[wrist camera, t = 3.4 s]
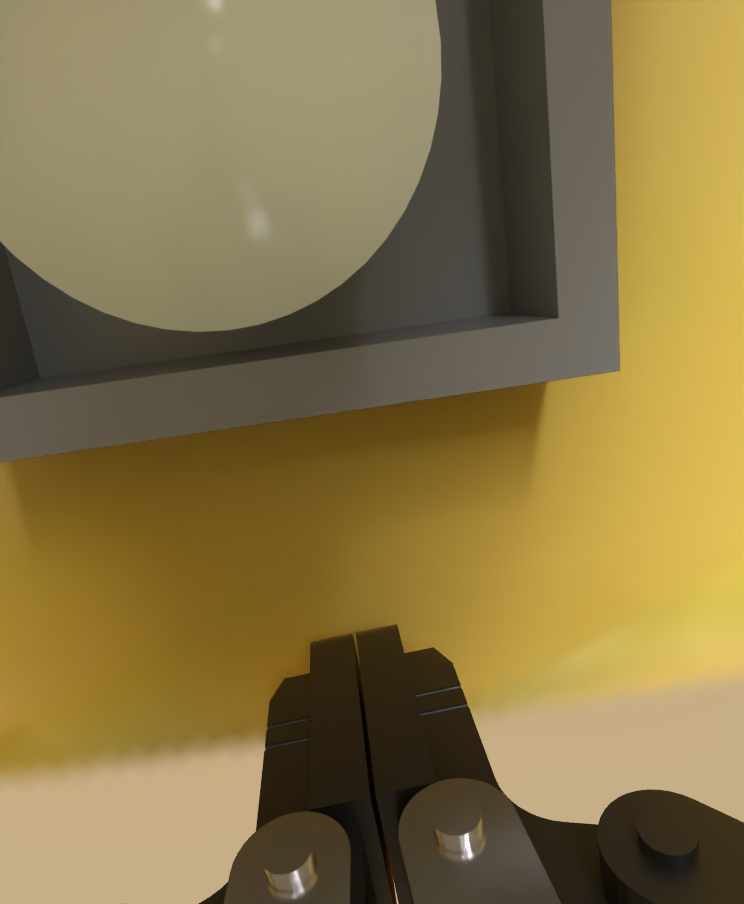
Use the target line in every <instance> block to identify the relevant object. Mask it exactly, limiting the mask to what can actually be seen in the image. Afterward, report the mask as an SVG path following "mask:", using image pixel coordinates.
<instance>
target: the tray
mask: <svg viewBox="0 0 744 904" xmlns="http://www.w3.org/2000/svg"><path fill="white" fill-rule="evenodd" d="M435 2H436V9H437V17H438V24H439V32H440V39H441V88H440V98H439V108H438V116H437V121H436V126H435V130H434V135H433V139H432V144H431V149H430V152H429V155H428V158H427V160H426V163H425V166H424V169H423V172H422V175H421V178H420V181H419V183H418V185H417V187H416V189H415V191H414V193H413V195H412V197H411V199H410V201H409V203H408V205H407V207H406V209H405V211H404V213H403V215H402V216H401V218H400V219H399V221H398V222H397V224H396V225H395V227H394V228H393V230H392V231H391V233H390V234H389V236H388V237H387V239H386V240H385V241H384V242H383V243H382V245H381V246H380V247H379V248H378V249H377V250H376V252H375V253H374V254H373V255H372V256H371V257H370V259H369V260H368V261H367V262H366V263H365V264H364V265H363V266H362V267H361V268H359V269H358V270H357V271H356V272H355V273H354V274H353V275H352V276H350V277H349V278H348V279H347V280H346V281H345V282H344V283H343V284H341V285H340V286H338V287H337V288H335V289H334V290H332V291H331V292H329V293H328V294H326V295H325V296H323V297H322V298H320V299H319V300H317V301H316V302H314V303H312V304H310V305H308V306H306V307H304V308H302V309H300V310H298V311H296V312H293V313H291V314H289V315H287V316H284V317H281V318H278V319H275V320H272V321H269V322H266V323H263V324H260V325H254V326H249V327H244V328H239V329H233V330H224V331H206V332H193V331H179V330H167V329H162V328H157V327H152V326H147V325H142V324H137V323H133V322H130V321H127V320H124V319H122V318H119V317H116V316H113V315H110V314H107V313H104V312H102V311H100V310H97V309H95V308H93V307H91V306H89V305H87V304H85V303H83V302H81V301H79V300H77V299H74V298H72V297H71V296H69V295H68V294H66V293H65V292H63V291H61V290H60V289H58V288H57V287H55V286H54V285H52V284H50V283H49V282H47V281H46V280H44V279H43V278H41V277H40V276H39V275H38V274H36V273H35V272H34V271H33V270H31V269H30V268H29V267H28V266H26V265H25V264H24V263H23V262H22V261H20V260H19V259H18V258H17V257H15V256H14V255H13V254H12V253H11V252H10V251H9V250H8V249H7V248H6V247H5V246H4V245H3V244H2V243H1V242H0V462H6V461H13V460H20V459H26V458H33V457H40V456H47V455H53V454H60V453H67V452H74V451H81V450H87V449H94V448H101V447H108V446H114V445H121V444H128V443H135V442H142V441H148V440H155V439H162V438H169V437H175V436H182V435H189V434H196V433H202V432H209V431H216V430H223V429H230V428H236V427H243V426H250V425H257V424H263V423H270V422H277V421H284V420H291V419H297V418H304V417H311V416H318V415H324V414H331V413H338V412H345V411H352V410H358V409H365V408H372V407H379V406H385V405H392V404H399V403H406V402H413V401H419V400H426V399H433V398H440V397H446V396H453V395H460V394H467V393H473V392H480V391H487V390H494V389H501V388H507V387H514V386H521V385H528V384H534V383H541V382H548V381H555V380H562V379H568V378H575V377H582V376H589V375H595V374H602V373H609V372H616V371H620V350H619V309H618V268H617V227H616V187H615V146H614V105H613V64H612V23H611V0H435Z"/></svg>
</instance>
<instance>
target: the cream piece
mask: <svg viewBox="0 0 744 904" xmlns="http://www.w3.org/2000/svg"><path fill="white" fill-rule="evenodd" d="M440 88H441V39H440V32H439V24H438V17H437V9H436V2H435V0H0V242H1V243H2V244H3V245H4V246H5V247H6V248H7V249H8V250H9V251H10V252H11V253H12V254H13V255H14V256H15V257H17V258H18V259H19V260H20V261H22V262H23V263H24V264H25V265H26V266H28V267H29V268H30V269H31V270H33V271H34V272H35V273H36V274H38V275H39V276H40V277H41V278H43V279H44V280H46V281H47V282H49V283H50V284H52V285H54V286H55V287H57V288H58V289H60V290H61V291H63V292H65V293H66V294H68V295H69V296H71V297H72V298H74V299H77V300H79V301H81V302H83V303H85V304H87V305H89V306H91V307H93V308H95V309H97V310H100V311H102V312H104V313H107V314H110V315H113V316H116V317H119V318H122V319H124V320H127V321H130V322H133V323H137V324H142V325H147V326H152V327H157V328H162V329H167V330H179V331H193V332H206V331H224V330H233V329H239V328H244V327H249V326H254V325H260V324H263V323H266V322H269V321H272V320H275V319H278V318H281V317H284V316H287V315H289V314H291V313H293V312H296V311H298V310H300V309H302V308H304V307H306V306H308V305H310V304H312V303H314V302H316V301H317V300H319V299H320V298H322V297H323V296H325V295H326V294H328V293H329V292H331V291H332V290H334V289H335V288H337V287H338V286H340V285H341V284H343V283H344V282H345V281H346V280H347V279H348V278H349V277H350V276H352V275H353V274H354V273H355V272H356V271H357V270H358V269H359V268H361V267H362V266H363V265H364V264H365V263H366V262H367V261H368V260H369V259H370V257H371V256H372V255H373V254H374V253H375V252H376V250H377V249H378V248H379V247H380V246H381V245H382V243H383V242H384V241H385V240H386V239H387V237H388V236H389V234H390V233H391V231H392V230H393V228H394V227H395V225H396V224H397V222H398V221H399V219H400V218H401V216H402V215H403V213H404V211H405V209H406V207H407V205H408V203H409V201H410V199H411V197H412V195H413V193H414V191H415V189H416V187H417V185H418V183H419V181H420V178H421V175H422V172H423V169H424V166H425V163H426V160H427V158H428V155H429V152H430V149H431V144H432V139H433V135H434V130H435V126H436V121H437V116H438V108H439V98H440Z"/></svg>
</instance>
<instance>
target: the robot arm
mask: <svg viewBox="0 0 744 904" xmlns="http://www.w3.org/2000/svg"><path fill="white" fill-rule="evenodd" d="M356 638H357V647H358V655H359V660H358V655H357V650H356V645H355V641H354V637H353V634H348V635H343V636H338V637H333V638H328V639H323V640H319V641H314V642H311V646H310V673H309V674H304V675H300V676H295V677H290V678H285V679H284V680H283V682H282V683H281V685H280V686H279V688H278V689H277V691H276V693H275V694H274V696H273V697H272V699H271V700H270V704H269V714H268V723H267V727H268V730H267V732H266V742H265V748H266V751H264V761H263V771H262V780H261V789H260V798H259V808H258V818H257V827H256V832H255V833H254V834H253V835H252V836H251V837H250V838H249V839H248V840H247V841H246V842H245V843H244V845H243V846H242V848H241V849H240V851H239V852H238V854H237V856H236V858H235V860H234V862H233V865H232V868H231V872H230V876H229V881H228V882H227V883H226V884H225V885H224V886H223V887H222V888H221V889H220V890H218V891H217V892H216V893H214V894H213V895H212V896H211V897H209V898H207V899H206V900H204V901H202V902H201V903H199V904H397V903H396V896H395V888H396V893H397V897H398V902H399V904H744V823H743V822H741V821H739V820H737V819H735V818H732V817H730V816H728V815H726V814H724V813H722V812H720V811H718V810H715V809H713V808H711V807H709V806H707V805H705V804H703V803H700V802H698V801H696V800H694V799H692V798H689V797H687V796H684V795H681V794H677V793H674V792H670V791H663V790H641V791H635V792H631V793H627V794H625V795H623V796H621V797H618V798H617V799H616V800H614V801H613V802H611V803H610V804H609V805H608V807H607V808H606V809H605V810H604V812H603V814H602V815H601V817H600V821H599V824H598V825H595V824H582V823H569V822H559V821H552V820H548V819H544V818H541V817H538V816H536V815H533V814H531V813H529V812H527V811H525V810H523V809H521V808H520V807H518V806H517V805H516V804H514V803H513V802H512V801H511V800H510V799H509V798H508V797H507V796H506V795H505V794H504V793H503V791H502V790H501V789H500V787H499V785H498V783H497V781H496V779H495V777H494V774H493V772H492V769H491V766H490V763H489V761H488V758H487V755H486V752H485V750H484V747H483V744H482V742H481V739H480V736H479V734H478V731H477V728H476V725H475V723H474V720H473V717H472V715H471V712H470V709H469V707H468V705H467V701H466V698H465V696H464V693H463V690H462V689H461V686H460V682H459V680H458V677H457V674H456V671H455V669H454V666H453V663H452V662H451V661H449V660H448V659H447V658H446V657H444V656H443V655H442V654H441V653H440V652H438V651H437V650H436V649H435V648H434V647H433V648H428V649H424V650H419V651H414V652H409V653H404V650H403V646H402V642H401V638H400V634H399V630H398V626H397V624H395V625H391V626H386V627H381V628H376V629H371V630H366V631H361V632H357V633H356ZM359 663H360V665H359ZM393 879H394V881H393ZM394 883H395V888H394Z"/></svg>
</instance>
